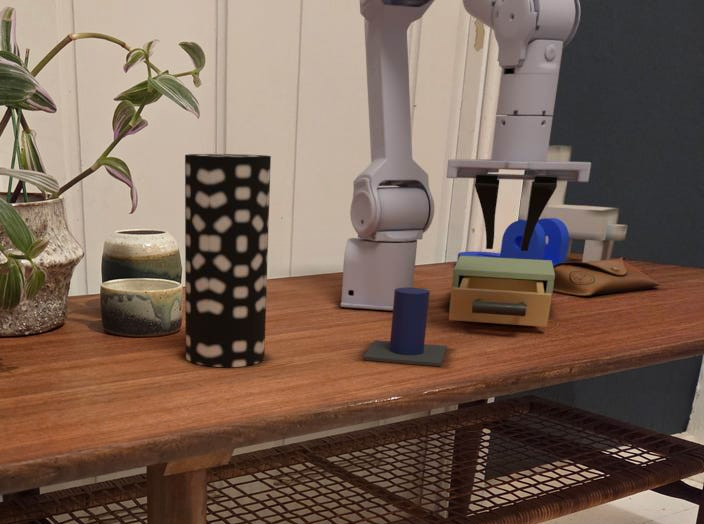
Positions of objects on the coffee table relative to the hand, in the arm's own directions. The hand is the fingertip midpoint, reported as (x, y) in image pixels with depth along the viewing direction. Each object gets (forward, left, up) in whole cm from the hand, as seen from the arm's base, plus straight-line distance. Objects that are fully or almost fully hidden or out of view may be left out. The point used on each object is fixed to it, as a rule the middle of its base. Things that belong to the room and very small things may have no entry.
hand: (506, 249), depth 98 cm
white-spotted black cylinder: (-27, -18, -11) cm, 34 cm away
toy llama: (+11, +69, -11) cm, 71 cm away
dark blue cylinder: (-9, -10, -10) cm, 17 cm away
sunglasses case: (+15, +43, -11) cm, 47 cm away
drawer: (0, +10, -10) cm, 14 cm away
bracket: (0, +57, -11) cm, 58 cm away
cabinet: (0, +23, -10) cm, 25 cm away
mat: (-9, -10, -10) cm, 17 cm away
